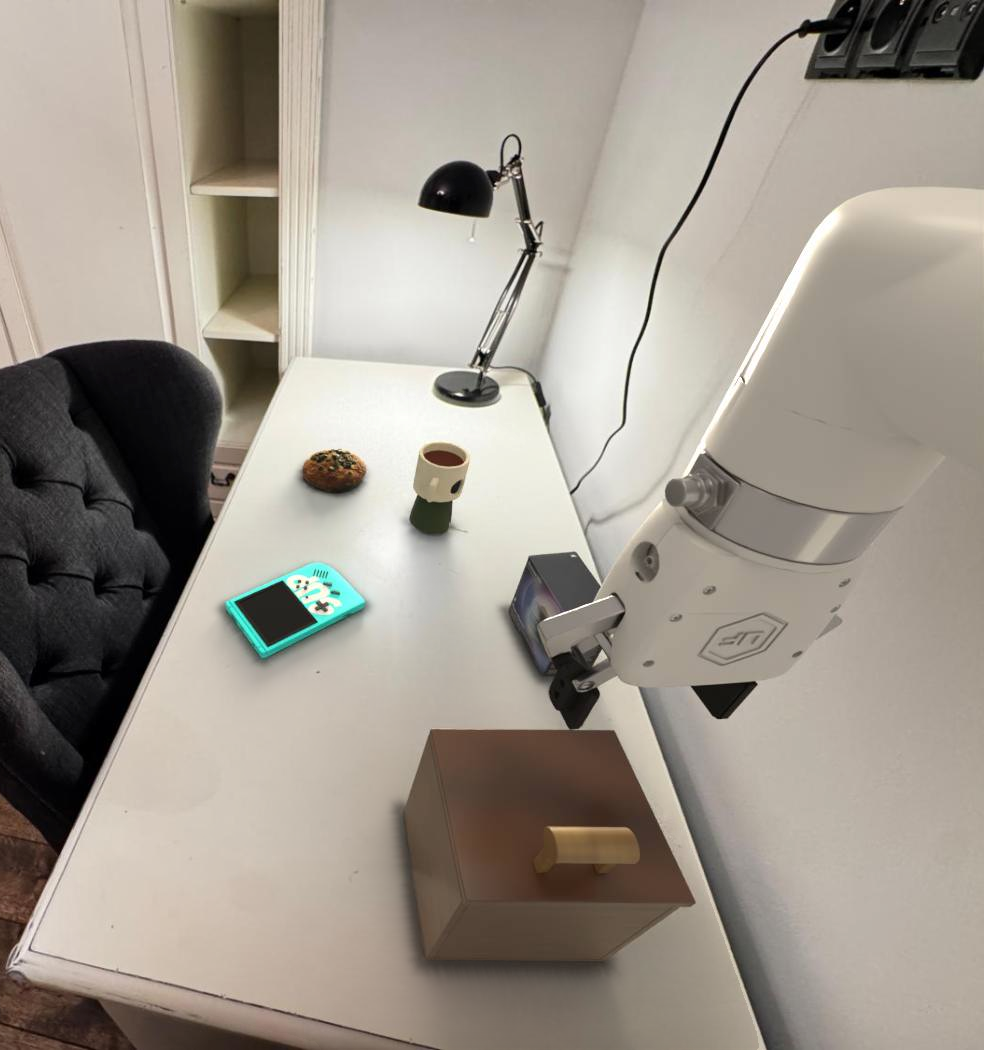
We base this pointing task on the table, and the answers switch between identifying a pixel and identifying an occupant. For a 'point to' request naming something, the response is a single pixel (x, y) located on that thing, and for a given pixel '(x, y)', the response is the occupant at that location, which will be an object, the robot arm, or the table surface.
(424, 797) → the brown wooden box
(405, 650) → the table surface
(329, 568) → the handheld game console
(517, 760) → the lid
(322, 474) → the bread roll
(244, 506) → the table surface
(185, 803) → the table surface
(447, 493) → the character mug
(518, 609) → the small box
